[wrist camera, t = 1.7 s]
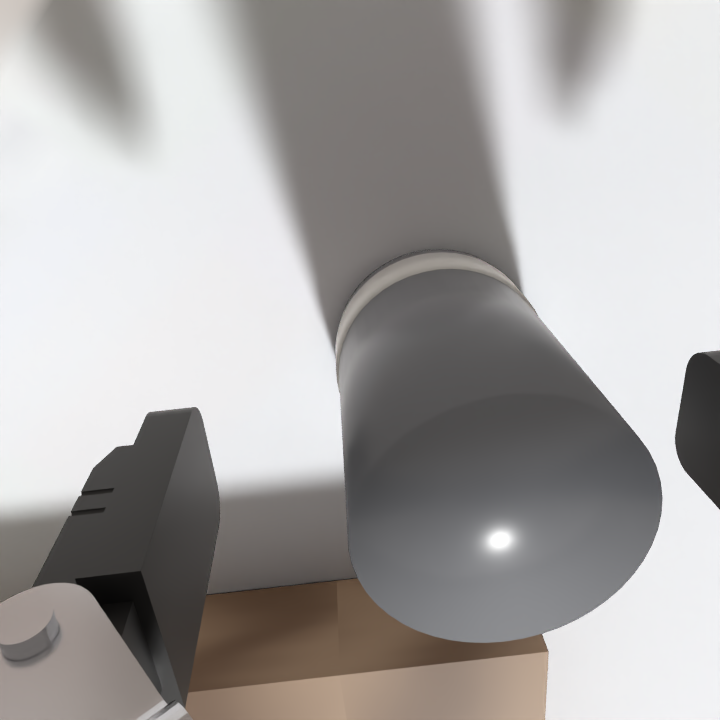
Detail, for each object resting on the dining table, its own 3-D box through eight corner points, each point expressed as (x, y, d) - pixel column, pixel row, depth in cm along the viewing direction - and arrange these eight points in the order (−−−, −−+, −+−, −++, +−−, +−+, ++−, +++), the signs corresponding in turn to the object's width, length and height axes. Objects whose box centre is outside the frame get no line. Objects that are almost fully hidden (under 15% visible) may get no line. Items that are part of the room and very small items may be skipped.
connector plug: (529, 236, 14) (685, 370, 8) (525, 413, 16) (647, 627, 10) (323, 258, 14) (326, 410, 8) (345, 434, 16) (360, 660, 10)
